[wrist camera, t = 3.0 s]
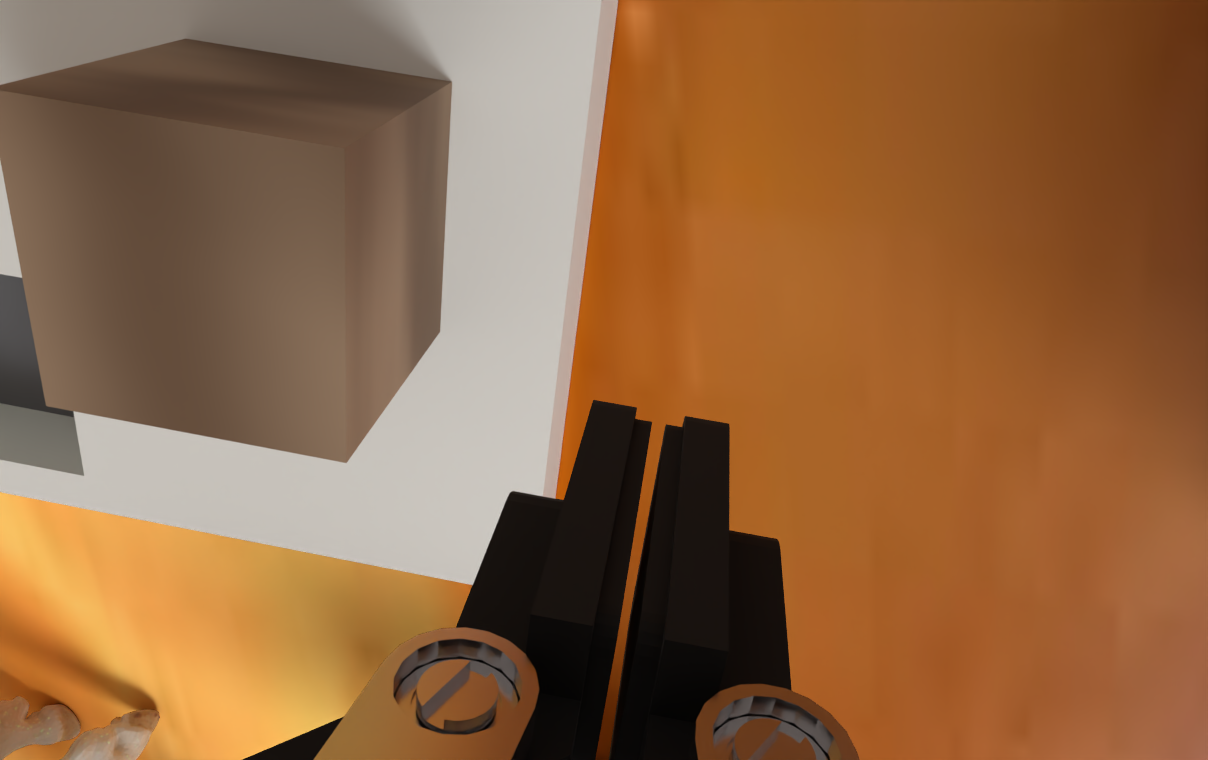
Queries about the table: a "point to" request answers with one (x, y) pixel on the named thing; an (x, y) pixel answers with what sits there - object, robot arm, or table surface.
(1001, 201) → the table surface
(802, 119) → the table surface
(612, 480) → the robot arm
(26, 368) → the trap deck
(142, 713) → the unicorn figurine
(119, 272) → the walnut block
